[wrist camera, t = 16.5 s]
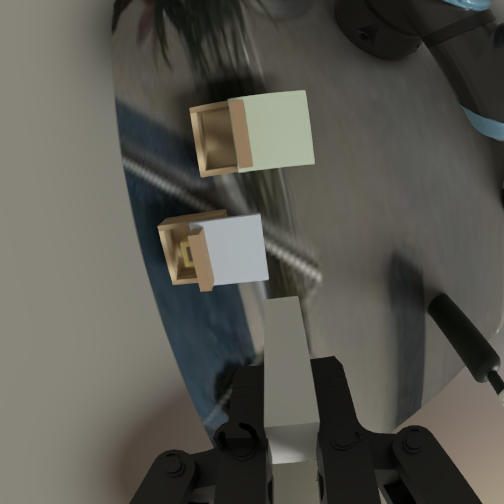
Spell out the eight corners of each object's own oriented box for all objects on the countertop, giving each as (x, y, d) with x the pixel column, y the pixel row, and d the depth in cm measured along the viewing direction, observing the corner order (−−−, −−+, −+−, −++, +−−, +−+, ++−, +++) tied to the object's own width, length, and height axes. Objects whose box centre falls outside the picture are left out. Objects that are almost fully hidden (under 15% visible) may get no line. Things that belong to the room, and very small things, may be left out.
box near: (196, 110, 38) (189, 108, 34) (263, 99, 37) (263, 95, 33) (206, 173, 42) (200, 177, 38) (272, 164, 41) (273, 167, 37)
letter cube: (186, 233, 45) (179, 242, 42) (210, 230, 45) (205, 239, 41) (191, 256, 47) (185, 267, 43) (214, 253, 46) (210, 264, 43)
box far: (166, 217, 45) (157, 226, 41) (225, 209, 44) (222, 216, 40) (179, 272, 49) (173, 284, 45) (235, 266, 48) (233, 279, 44)
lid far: (190, 222, 40) (183, 230, 36) (260, 212, 39) (259, 220, 36) (204, 283, 44) (199, 296, 40) (268, 277, 43) (268, 289, 39)
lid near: (228, 99, 33) (224, 95, 30) (304, 91, 32) (308, 86, 29) (239, 171, 37) (236, 175, 33) (313, 163, 36) (319, 166, 33)
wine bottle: (431, 296, 49) (508, 401, 22) (451, 292, 49) (530, 387, 21) (426, 318, 51) (492, 423, 24) (446, 314, 51) (514, 410, 23)
